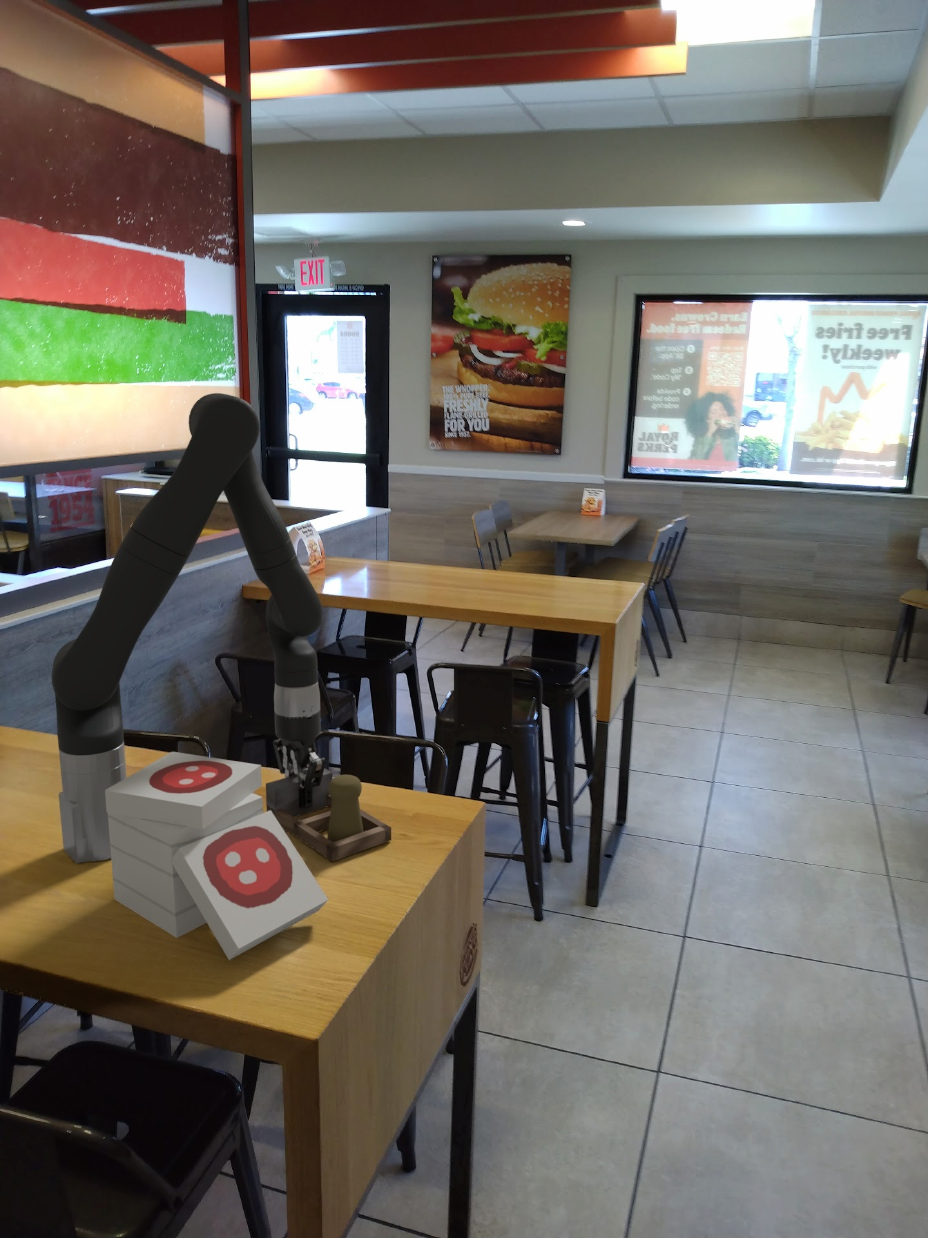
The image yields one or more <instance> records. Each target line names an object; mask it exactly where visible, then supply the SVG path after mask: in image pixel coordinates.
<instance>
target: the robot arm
mask: <svg viewBox="0 0 928 1238" xmlns="http://www.w3.org/2000/svg"><path fill="white" fill-rule="evenodd" d="M188 429H189V433H190V435H191V437H190V440H189V441H188V444H187V446H186V449H185V451H184V453H183V455H182V457H181V459H180V461H179V463H178V464H177V466H176V469H175V470H174V472H173V473H172V475H170V477H169V478H168V479H167V481H165V483H164V484H163V485H162V486H161V488H160V489H159V490H158V491H157V492H156V493H155V494H154V495H153V496H152V497H151V499H150V500H149V501H148V502H147V503H146V504H145V505H144V507H143V508H142V509H141V510H140V511H139V513H138V514H137V516H136V518H135V519H134V521H133V522H132V523H131V526H130V528H129V529H128V531H127V533H126V534H125V536H124V537H123V540H122V542H121V544H120V545H119V547H118V549H117V551H116V553H115V555H114V558H113V560H112V562H111V564H110V566H109V569H108V571H107V574H106V577H105V580H104V582H103V586H102V587H101V591H100V595H99V597H98V599H97V601H96V604H95V607H94V609H93V612H92V613H91V615H90V616H89V618H88V621H87V622H86V624H85V625H84V626H83V628H82V630H81V631H80V633H79V634H78V635H77V637H76V638H73V639H71V640H70V641H68V642H66V643H65V644H64V645H63V646H61V648H59V650H58V652H56V654H55V656H54V659H53V661H52V662H53V663H52V670H51V684H52V685H51V686H52V689H53V691H54V697H55V698H54V699H55V709H56V712H55V713H56V729H57V730H56V732H57V733H56V735H57V744H58V754H59V755H58V756H59V766H60V777H61V787H62V788H61V789H62V791H61V792H59V793H58V802H59V803H58V804H59V812H60V813H59V814H60V823H61V834H62V835H61V836H62V845H63V851H65V853H66V854H67V855H68V856H69V857H70V858H71V859H72V861H74V862H75V864H80V863H84V862H97V861H99V862H100V861H105V860H109V859H110V860H111V848H110V835H109V823H108V813H107V812H106V798H105V790H106V789H108V788H110V787H111V786H113V785H115V784H117V783H118V782H120V781H122V780H123V779H125V778H127V768H126V767H127V766H126V765H127V763H126V754H125V750H126V749H125V740H124V738H125V737H124V723H123V711H122V700H121V698H122V697H121V683H120V682H121V679H122V677H123V674H124V672H125V669H126V667H127V665H128V662H129V660H130V657H131V655H132V653H133V651H134V648H135V647H136V644H137V642H138V641H139V639H140V636H141V635H142V633H143V631H144V630H145V628H146V626H147V625H148V623H149V622H150V621H151V620H152V618H153V616H154V615H155V613H156V612H157V610H158V609H159V607H160V606H161V604H162V602H163V601H164V600H165V598H166V596H167V594H168V593H169V591H170V590H171V588H172V587H173V585H174V584H175V582H176V580H177V579H178V577H179V576H180V574H181V572H182V570H183V568H184V567H185V565H186V563H187V561H188V559H189V558H190V556H191V554H192V552H193V549H194V547H195V546H196V544H197V542H198V540H199V538H200V536H201V535H202V532H203V530H204V529H205V526H206V525H207V523H208V520H209V518H210V516H211V514H212V512H213V510H214V508H215V506H216V504H217V502H218V500H219V498H220V497H221V495H222V494H223V493H224V495H225V497H226V500H227V502H228V505H229V507H230V510H231V512H232V515H233V519H234V520H235V523H236V526H237V528H238V530H239V533H240V534H239V535H240V536H241V540H242V542H243V544H244V547H245V549H246V552H247V554H248V557H249V561H250V563H251V564H252V568H253V570H254V572H255V575H256V576H257V579H258V580H259V581H260V582H261V583H262V584H263V585H265V587H267V588H268V590H269V592H270V594H271V595H270V596H269V598H268V600H267V604H266V609H265V621H266V627H267V631H268V637H269V640H270V642H269V643H270V646H271V648H272V652H273V659H274V664H273V667H274V691H273V692H274V693H273V704H274V705H273V706H274V709H273V710H274V729H275V730H274V731H275V732H274V734H275V735H276V737H277V739H274V740H273V741H272V745H273V749H274V753H275V757H276V758H275V759H276V760H277V761H276V762H277V766H278V770H279V774H281V775H283V774H284V778H287V777H290V776H294V775H297V776H298V784H299V807H300V808H301V809H306V808H309V807H311V806H312V804H313V800H312V787H316V786H320V783H321V780H322V776H323V772H324V768H325V769H326V765H327V763H326V762H327V761H326V759H325V757H319V756H318V754H316V753H317V748H316V744H315V740H316V738H317V737H318V736H319V735H320V734H321V730H322V726H321V724H322V723H321V694H320V693H321V692H320V688H319V673H318V672H319V671H318V667H319V665H318V657H317V655H318V654H317V652H316V650H315V648H314V647H313V646H312V645H311V643H310V641H309V639H308V636H311V635H313V634H314V633H316V632H317V631H318V630H319V628H320V627H321V624H322V622H323V617H324V616H323V614H324V613H323V606H322V604H321V603H322V602H321V600H320V598H319V597H320V596H319V595H318V593H317V591H316V589H315V587H314V585H313V584H312V582H311V580H310V579H309V577H308V576H307V573H306V572H305V571H304V569H303V568H302V567H303V566H301V564H300V562H299V559H298V556H297V553H296V550H295V547H294V545H293V542H292V539H291V535H290V534H289V531H288V528H287V526H286V524H285V522H284V519H283V518H282V516H281V513H280V512H279V510H278V509H277V507H276V504H275V503H274V501H273V499H272V496H271V495H270V494H269V491H268V490H267V488H266V485H265V483H264V481H263V478H262V476H261V474H260V472H259V468H258V467H257V465H256V461H255V458H254V453H253V449H254V448H255V446H256V445H257V442H258V439H259V435H260V421H259V417H258V414H257V412H256V410H255V408H253V406H252V405H251V404H250V403H249V402H248V401H246V400H244V399H242V398H241V397H237V396H234V395H231V394H227V393H220V392H219V393H218V392H215V393H209V394H205V395H203V396H201V397H200V398H199V399H197V401H196V402H194V404H193V405H192V407H191V410H190V412H189V414H188ZM306 767H307V768H306ZM304 775H306V778H305V781H304ZM314 778H315V779H314Z"/></svg>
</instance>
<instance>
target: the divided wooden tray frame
mask: <svg viewBox="0 0 928 1238" xmlns="http://www.w3.org/2000/svg"><path fill="white" fill-rule="evenodd" d="M305 778H306V775H304V781H305ZM333 778H334V777H333V772H332V771H331V770H329V769H327V768H326V767H325V768H324V772H323V776H322V780H321V783H320V786H316V787H312V800H313V804H312V806H311V807H309V808H306V809H301V808H300V807H299V784H298V776H297V775H294V776H290V777H287V778H285V777H283V778H281V779H280V778H279V779H277V780H274V781H273V780H272V781H269V782H266V783H265V799H266V801H265V803H266V804H265V805H266V812H267V811H270V810H271V811H272V813H273V815H274V816H275V818H276V819H277V821H278V822H279V824H280V825H281V827H282V828H283V830H286V831H287V832H288V833H290V834H292V835H293V836H294V837H295V838H297V839H299V840H300V841H301V842H303V843H304V844H306V845H307V846H309V847H310V848H311V849H313V850H314V851H316V852H317V853H318V854H321V855H322V856H323V857H325V858H327V860H329V861H330V862H335V861H338V860H341V859H343V858H346V857H349V856H351V855H354V854H357V853H359V852H362V851H365V850H367V849H371V848H373V847H376V846H378V845H383V844H384V843H387V842H389V841H390V842H391V841H392V827H391V826H389V825H388V824H387V823H385V822H383V821H381V820H379V819H378V818H376V817H375V816H372V815H371V814H369V813H367V812H366V811H364V810H362V809H361V808H360V812H361V819H362V825H363V832H362V833H359V834H356V835H353V836H350V837H347V838H344V839H342V840H339V841H336V842H332V841H330V840H329V839H327V837H325V836H324V835H323V834H321V833H320V832H323V831H326V830H328V829H329V821H330V813H331V805H332V798H331V796H330V794H329V788H328V787H329V783H330V781H331V780H332V779H333ZM314 779H315V778H314ZM324 808H329V809H330V810H329V811H328V810H327V811H326V812H323V813H319V814H316V815H313V816H309V817H307V818H304V819H301V820H300V819H298V818H297V817H298V816H302V815H305V814H309V813H311V812H316V811H318V810H322V809H324Z"/></svg>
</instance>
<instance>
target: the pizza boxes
mask: <svg viewBox="0 0 928 1238" xmlns="http://www.w3.org/2000/svg"><path fill="white" fill-rule="evenodd" d="M262 777H263V776H262V765H261V764H256V763H250V762H249V763H248V762H243V761H235V760H231V759H230V760H228V759H222V758H217V757H209V756H203V755H199V754H198V755H196V754H191V753H184V752H178V751H177V752H176V751H170V752H169V753H167V754H165V755H164V756H162V757H160V758H159V759H157V760H155V761H153V762H152V763H150V764H148V765H146V766H144V767H143V768H141V769H140V770H137V771H135V773H132V774H131V775H129V776H126V778H125V779H123V780H122V781H120V782H118V783H117V784H115V785H113V786H111V787H110V788H108V789H106V790H105V798H106V812H107V813H108V823H109V835H110V848H111V858H110V860H111V871H112V874H111V875H112V884H113V885H112V886H113V894H114V895H113V897H114V900H115V901H116V902H118V903H120V904H121V905H123V906H125V907H126V908H128V909H130V910H131V911H132V912H134V913H136V914H138V915H139V916H140V917H142V918H144V919H145V920H146V921H147V920H148V921H149V922H150V923H152V924H153V925H156V926H157V927H158V928H160V929H162V930H163V931H165V932H166V933H168V934H169V935H171V936H173V937H175V938H176V939H177V938H180V937H182V936H183V935H186V934H187V933H189V932H191V931H193V930H195V929H197V928H199V927H202V926H203V925H205V924H207V925H208V927H209V929H210V930H211V932H212V934H213V935H214V937H215V939H216V941H217V942H218V944H219V946H220V947H221V949H222V950H223V952H224V954H225V956H226V957H227V959H228V961H231V960H232V959H233V958H235V957H237V956H239V955H241V954H243V953H245V952H246V951H248V950H250V949H252V948H254V947H255V946H258V945H259V944H261V943H263V942H265V941H267V940H268V939H270V938H272V937H274V936H276V935H277V934H279V933H281V932H283V931H284V930H286V929H288V928H290V927H292V926H293V925H296V924H297V923H299V922H302V920H304V919H306V918H308V917H310V916H312V915H315V913H317V912H318V911H320V910H321V909H322V908H323V906H325V905H326V903H327V902H328V901H329V898H328V896H327V895H326V893H325V892H324V891H323V889H322V887H321V886H320V884H319V883H318V881H317V879H316V878H315V877H314V875H313V874H312V872H311V870H310V869H309V867H308V866H307V864H306V863H305V861H304V859H303V858H302V857H301V855H300V854H299V851H298V850H297V849H296V847H295V845H294V844H293V843H292V840H291V839H290V837H289V836H288V834H287V833H286V831H285V829H284V828H283V827H281V825H280V824H279V822H278V821H277V819H276V818H275V816H274V815H273V813H272V811H271V810H270V811H267V810H266V811H265V812H264V803H263V802H264V800H263V799H264V798H263V796H261V795H259V794H256V793H254V792H255V791H258V789H259V788H261V787H262V786H263V783H262V782H263V781H262Z"/></svg>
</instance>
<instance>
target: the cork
mask: <svg viewBox="0 0 928 1238" xmlns="http://www.w3.org/2000/svg"><path fill="white" fill-rule="evenodd" d="M328 788H329V794H330V796H331V798H332V805H331V809H330V811H331V813H330V821H329V829H327V830H328V831H327V837H326V838H327V839H329V840H330V841H332V842H336V841H339V840H342V839H344V838H347V837H350V836H353V835H356V834H359V833H362V832H364V829H363V825H362V819H361V812H360V809H361V807H360V799H359V797H360V796H361V793H362V791H363V790H362V788H363V785H362V782H361V780H360V778H358V777H357V776H355V775H352V774H339V775H337V776H335V777H333V779H332V780H331V781H330V783H329V787H328Z"/></svg>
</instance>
